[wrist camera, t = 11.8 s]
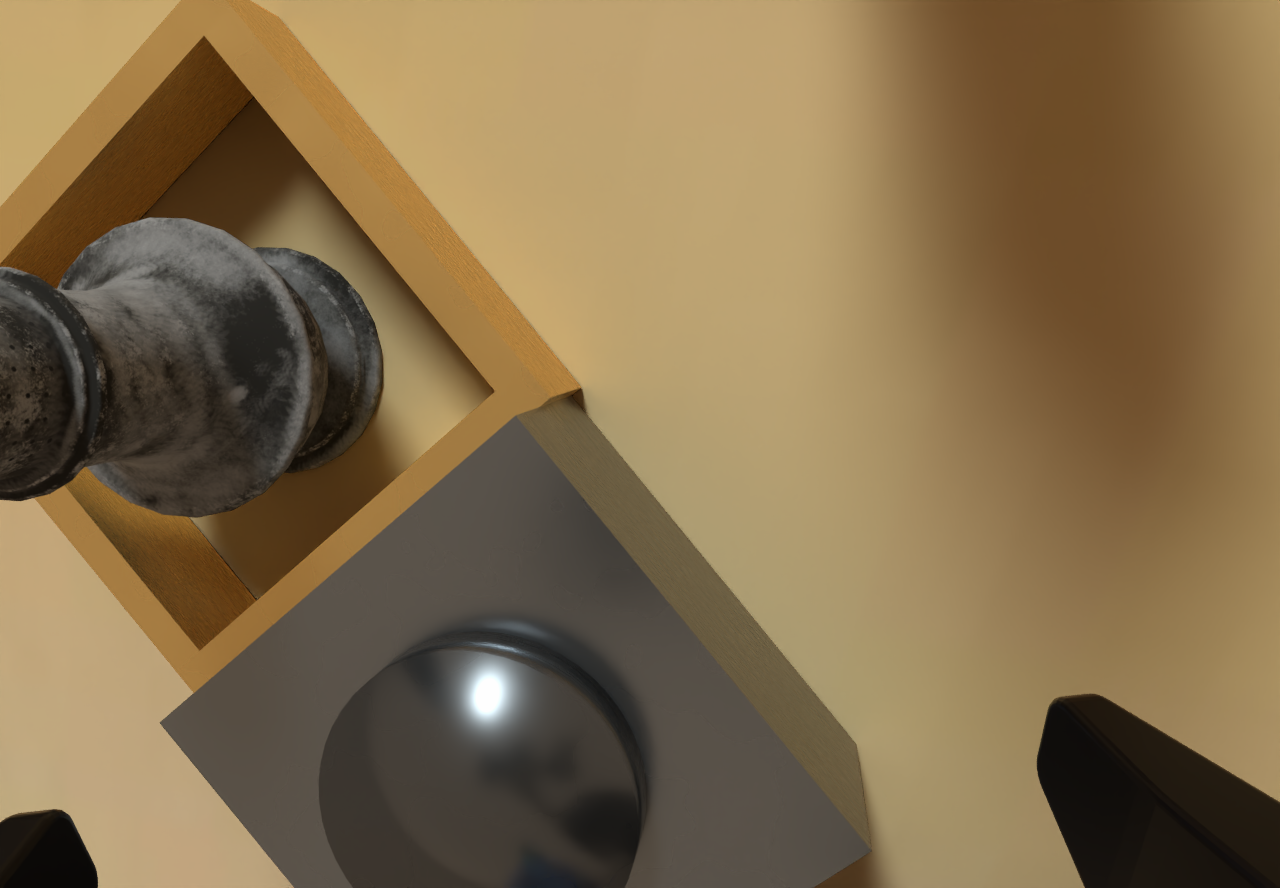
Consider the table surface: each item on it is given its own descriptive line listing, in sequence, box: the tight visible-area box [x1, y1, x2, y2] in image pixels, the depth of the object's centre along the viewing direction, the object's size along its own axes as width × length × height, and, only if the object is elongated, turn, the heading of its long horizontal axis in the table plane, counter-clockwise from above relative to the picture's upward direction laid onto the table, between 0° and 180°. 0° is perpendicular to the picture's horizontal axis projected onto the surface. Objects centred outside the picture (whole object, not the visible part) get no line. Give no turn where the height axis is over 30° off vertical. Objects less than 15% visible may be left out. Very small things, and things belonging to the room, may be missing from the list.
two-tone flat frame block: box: [0, 0, 872, 888], centre depth 18 cm, size 21×11×5 cm, turn 40°
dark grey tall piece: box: [0, 218, 382, 518], centre depth 15 cm, size 6×6×12 cm
